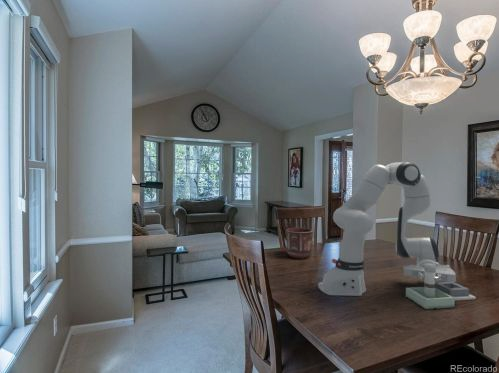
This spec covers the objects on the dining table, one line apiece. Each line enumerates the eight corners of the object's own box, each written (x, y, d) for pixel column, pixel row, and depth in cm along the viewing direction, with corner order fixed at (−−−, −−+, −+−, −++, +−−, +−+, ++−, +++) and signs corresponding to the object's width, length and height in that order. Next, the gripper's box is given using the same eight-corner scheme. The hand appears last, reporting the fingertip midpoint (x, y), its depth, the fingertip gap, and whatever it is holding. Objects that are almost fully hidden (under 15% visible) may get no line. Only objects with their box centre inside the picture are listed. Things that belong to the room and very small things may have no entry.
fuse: (425, 297, 131) (426, 265, 130) (422, 293, 135) (423, 262, 134) (436, 298, 130) (437, 266, 129) (432, 294, 134) (433, 263, 134)
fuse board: (449, 300, 133) (449, 291, 133) (428, 289, 146) (428, 281, 146) (475, 299, 135) (476, 290, 135) (452, 288, 148) (452, 280, 148)
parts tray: (426, 309, 125) (426, 299, 125) (405, 296, 138) (406, 287, 138) (454, 307, 127) (454, 297, 127) (431, 294, 140) (431, 286, 140)
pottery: (309, 252, 213) (309, 227, 212) (315, 260, 195) (315, 232, 195) (284, 253, 212) (284, 227, 212) (288, 260, 195) (288, 232, 194)
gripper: (403, 259, 148) (403, 267, 136) (453, 265, 139) (458, 274, 127) (403, 272, 149) (402, 281, 136) (452, 279, 139) (457, 289, 127)
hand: (430, 278), depth 131 cm, fingers closed on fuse, 4 cm apart
